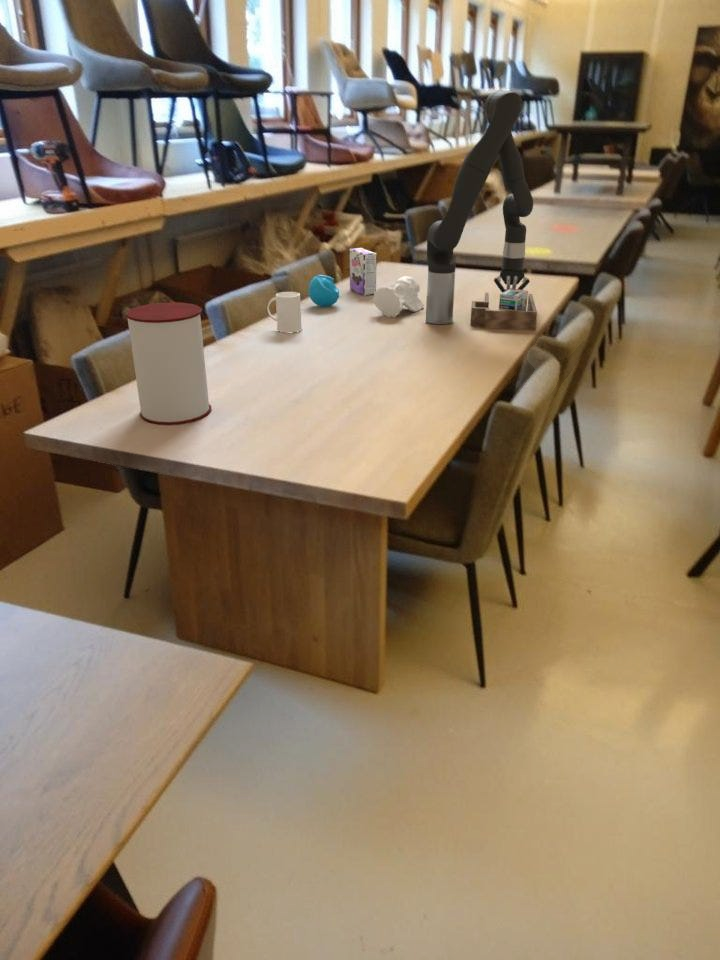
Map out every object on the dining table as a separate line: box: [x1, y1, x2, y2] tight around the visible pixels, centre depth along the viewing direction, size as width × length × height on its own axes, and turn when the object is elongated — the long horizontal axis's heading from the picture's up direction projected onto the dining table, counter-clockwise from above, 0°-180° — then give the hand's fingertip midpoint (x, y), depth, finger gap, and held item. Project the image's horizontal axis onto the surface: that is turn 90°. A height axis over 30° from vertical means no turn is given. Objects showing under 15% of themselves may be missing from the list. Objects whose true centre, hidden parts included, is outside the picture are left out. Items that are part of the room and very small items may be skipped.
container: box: [125, 301, 212, 426], centre depth 178 cm, size 17×17×25 cm
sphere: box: [308, 274, 340, 308], centre depth 278 cm, size 12×11×12 cm
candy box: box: [349, 247, 378, 297], centre depth 299 cm, size 14×6×16 cm, turn 25°
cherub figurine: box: [371, 275, 425, 318], centre depth 272 cm, size 13×12×20 cm
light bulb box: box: [498, 287, 529, 311], centre depth 257 cm, size 11×7×11 cm, turn 150°
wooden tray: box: [470, 292, 538, 331], centre depth 263 cm, size 22×27×6 cm
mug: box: [267, 291, 303, 333], centre depth 249 cm, size 12×8×12 cm
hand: (509, 305), depth 267 cm, fingers closed
